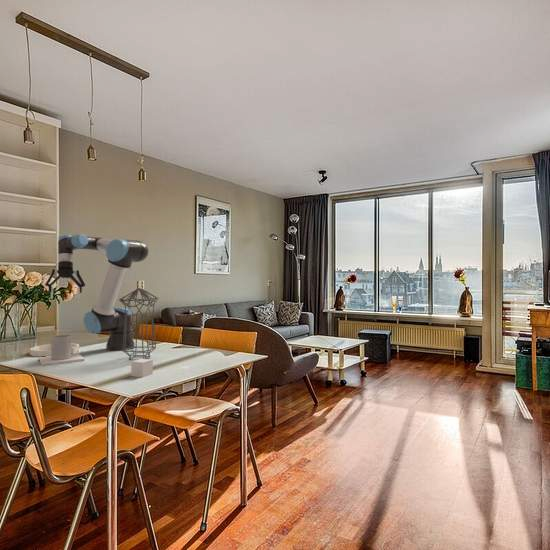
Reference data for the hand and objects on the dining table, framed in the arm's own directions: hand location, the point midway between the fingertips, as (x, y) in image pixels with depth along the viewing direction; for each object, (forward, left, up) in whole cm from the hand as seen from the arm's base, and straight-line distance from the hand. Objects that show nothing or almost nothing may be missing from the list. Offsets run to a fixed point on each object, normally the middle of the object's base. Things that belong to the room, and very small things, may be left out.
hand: (65, 298), depth 229 cm
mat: (-14, +29, -29) cm, 43 cm away
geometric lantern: (-52, +26, -29) cm, 65 cm away
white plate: (+1, +8, -29) cm, 30 cm away
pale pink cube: (-65, +60, -29) cm, 93 cm away
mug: (-13, +29, -28) cm, 43 cm away
